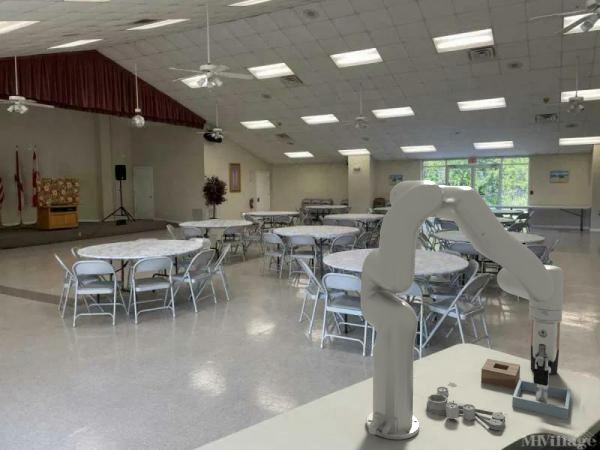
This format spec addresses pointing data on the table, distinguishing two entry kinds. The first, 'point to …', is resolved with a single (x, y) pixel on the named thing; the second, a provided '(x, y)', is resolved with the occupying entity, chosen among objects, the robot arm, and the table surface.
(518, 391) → the pin tray
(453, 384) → the pulley system
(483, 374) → the block
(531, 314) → the robot arm
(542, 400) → the lock pin
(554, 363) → the travel mug
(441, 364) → the table surface
